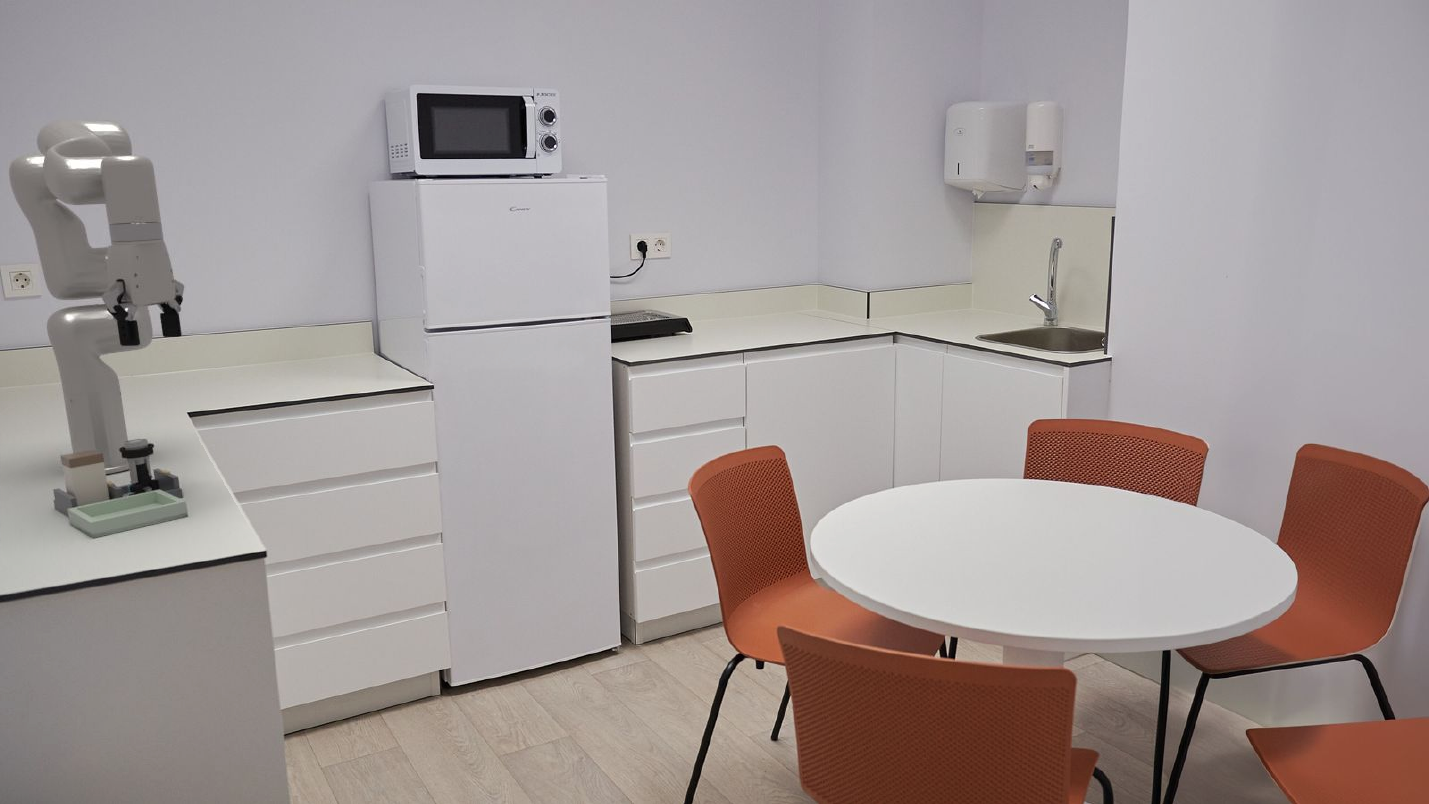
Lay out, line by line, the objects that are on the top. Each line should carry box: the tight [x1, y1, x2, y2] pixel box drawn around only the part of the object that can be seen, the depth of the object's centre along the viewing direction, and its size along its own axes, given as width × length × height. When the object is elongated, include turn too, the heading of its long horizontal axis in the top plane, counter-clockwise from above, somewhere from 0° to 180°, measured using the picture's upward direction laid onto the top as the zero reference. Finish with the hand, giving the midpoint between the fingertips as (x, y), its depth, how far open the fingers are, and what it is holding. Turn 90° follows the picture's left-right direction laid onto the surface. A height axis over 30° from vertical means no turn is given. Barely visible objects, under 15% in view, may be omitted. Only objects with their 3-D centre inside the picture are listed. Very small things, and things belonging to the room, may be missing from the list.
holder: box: [52, 468, 184, 517], centre depth 187 cm, size 12×17×4 cm
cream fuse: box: [60, 450, 110, 507], centre depth 183 cm, size 5×5×10 cm
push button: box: [119, 438, 159, 497], centre depth 189 cm, size 7×5×10 cm
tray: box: [67, 489, 189, 539], centre depth 176 cm, size 12×14×2 cm
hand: (152, 340), depth 178 cm, fingers open, 9 cm apart
